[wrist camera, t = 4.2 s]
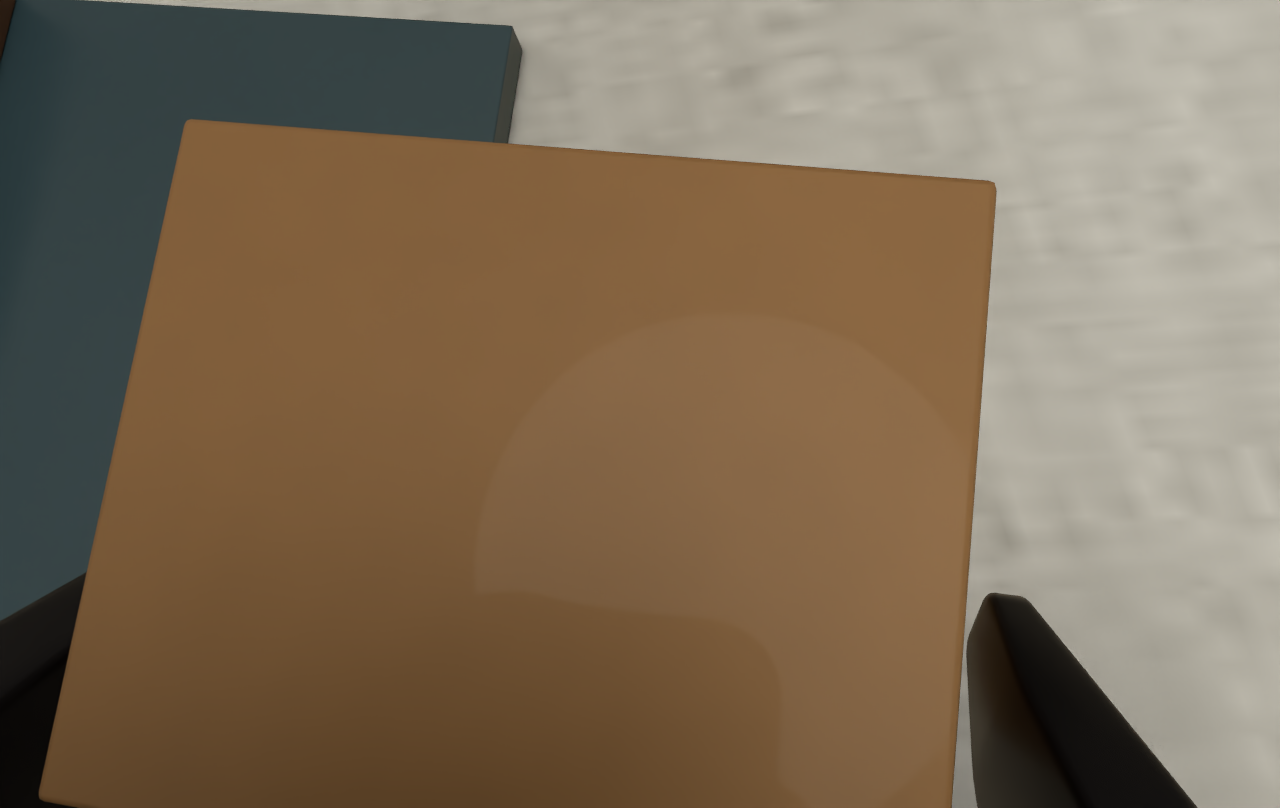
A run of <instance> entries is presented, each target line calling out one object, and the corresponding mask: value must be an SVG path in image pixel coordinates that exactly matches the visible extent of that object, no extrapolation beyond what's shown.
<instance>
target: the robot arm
mask: <svg viewBox="0 0 1280 808" xmlns="http://www.w3.org/2000/svg"><path fill="white" fill-rule="evenodd" d="M86 573H87V572H85V573H84V574H82V575H80V576H78V577H77V578H75V579H73V580H71V581H70V582H68V583H66V584H64V585H63V586H61V587H59V588H57V589H55V590H54V591H52V592H50V593H48V594H47V595H45V596H43V597H41V598H40V599H38V600H36V601H34V602H33V603H31V604H29V605H27V606H26V607H24V608H22V609H20V610H18V611H17V612H15V613H13V614H11V615H10V616H8V617H6V618H4V619H3V620H1V621H0V808H77V807H72V806H67V805H61V804H56V803H51V802H46V801H42V800H41V799H40V798H39V788H40V784H41V779H42V775H43V770H44V766H45V761H46V756H47V752H48V747H49V743H50V738H51V733H52V729H53V724H54V720H55V715H56V711H57V706H58V701H59V697H60V692H61V688H62V683H63V678H64V674H65V669H66V665H67V660H68V656H69V651H70V646H71V642H72V637H73V633H74V628H75V623H76V619H77V614H78V610H79V605H80V601H81V596H82V591H83V587H84V582H85V578H86ZM966 658H967V676H968V695H969V714H970V732H971V751H972V767H973V780H974V787H975V794H976V801H977V807H978V808H1197V806H1196V805H1195V804H1194V803H1193V801H1192V800H1191V799H1190V798H1189V797H1188V795H1187V794H1186V793H1185V792H1184V790H1183V789H1182V788H1181V787H1180V786H1179V784H1178V783H1177V782H1176V781H1175V779H1174V778H1173V777H1172V776H1171V775H1170V773H1169V772H1168V771H1167V770H1166V768H1165V767H1164V766H1163V765H1162V763H1161V762H1160V761H1159V760H1158V759H1157V757H1156V756H1155V755H1154V754H1153V752H1152V751H1151V750H1150V749H1149V748H1148V746H1147V745H1146V744H1145V743H1144V741H1143V740H1142V739H1141V738H1140V737H1139V735H1138V734H1137V733H1136V732H1135V730H1134V729H1133V728H1132V727H1131V725H1130V724H1129V723H1128V722H1127V721H1126V719H1125V718H1124V717H1123V716H1122V714H1121V713H1120V712H1119V711H1118V710H1117V708H1116V707H1115V706H1114V705H1113V703H1112V702H1111V701H1110V700H1109V699H1108V697H1107V696H1106V695H1105V694H1104V692H1103V691H1102V690H1101V689H1100V688H1099V686H1098V685H1097V684H1096V683H1095V681H1094V680H1093V679H1092V678H1091V676H1090V675H1089V674H1088V673H1087V672H1086V670H1085V669H1084V668H1083V667H1082V665H1081V664H1080V663H1079V662H1078V661H1077V659H1076V658H1075V657H1074V656H1073V654H1072V653H1071V652H1070V651H1069V650H1068V648H1067V647H1066V646H1065V645H1064V643H1063V642H1062V641H1061V640H1060V638H1059V637H1058V636H1057V635H1056V634H1055V632H1054V631H1053V630H1052V629H1051V627H1050V626H1049V625H1048V624H1047V623H1046V621H1045V620H1044V619H1043V618H1042V616H1041V615H1040V614H1039V613H1038V612H1037V610H1036V609H1035V608H1034V607H1033V605H1032V604H1031V603H1030V602H1029V601H1028V600H1026V599H1025V598H1023V597H1021V596H1015V595H1007V594H1000V593H990V594H988V595H987V596H986V597H985V598H984V600H983V602H982V605H981V607H980V609H979V612H978V614H977V617H976V619H975V622H974V624H973V627H972V629H971V631H970V634H969V637H968V641H967V651H966Z"/></svg>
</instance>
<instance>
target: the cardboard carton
mask: <svg viewBox="0 0 1280 808" xmlns="http://www.w3.org/2000/svg"><path fill="white" fill-rule="evenodd" d="M996 192H997V191H996V187H995V183H993V182H991V181H985V180H972V179H959V178H946V177H933V176H920V175H907V174H894V173H881V172H868V171H855V170H842V169H829V168H817V167H804V166H791V165H778V164H765V163H752V162H739V161H726V160H713V159H700V158H687V157H674V156H661V155H648V154H635V153H622V152H609V151H597V150H584V149H571V148H558V147H545V146H532V145H519V144H506V143H493V142H480V141H467V140H454V139H441V138H428V137H415V136H402V135H390V134H377V133H364V132H351V131H338V130H325V129H312V128H299V127H286V126H273V125H260V124H247V123H234V122H221V121H208V120H195V119H190V120H187V121H186V123H185V124H184V128H183V133H182V138H181V142H180V147H179V151H178V156H177V161H176V165H175V170H174V174H173V179H172V183H171V188H170V193H169V197H168V202H167V206H166V211H165V216H164V220H163V225H162V229H161V234H160V238H159V243H158V248H157V252H156V257H155V261H154V266H153V271H152V275H151V280H150V284H149V289H148V293H147V298H146V303H145V307H144V312H143V316H142V321H141V326H140V330H139V335H138V339H137V344H136V348H135V353H134V358H133V362H132V367H131V371H130V376H129V381H128V385H127V390H126V394H125V399H124V403H123V408H122V413H121V417H120V422H119V426H118V431H117V436H116V440H115V445H114V449H113V454H112V458H111V463H110V468H109V472H108V477H107V481H106V486H105V491H104V495H103V500H102V504H101V509H100V513H99V518H98V523H97V527H96V532H95V536H94V541H93V546H92V550H91V555H90V559H89V564H88V568H87V573H86V578H85V582H84V587H83V591H82V596H81V601H80V605H79V610H78V614H77V619H76V623H75V628H74V633H73V637H72V642H71V646H70V651H69V656H68V660H67V665H66V669H65V674H64V678H63V683H62V688H61V692H60V697H59V701H58V706H57V711H56V715H55V720H54V724H53V729H52V733H51V738H50V743H49V747H48V752H47V756H46V761H45V766H44V770H43V775H42V779H41V784H40V788H39V798H40V799H41V800H42V801H46V802H51V803H56V804H61V805H67V806H72V807H77V808H951V807H952V793H953V780H954V766H955V752H956V739H957V725H958V711H959V698H960V684H961V670H962V657H963V643H964V629H965V616H966V602H967V588H968V575H969V561H970V547H971V534H972V520H973V506H974V493H975V479H976V465H977V452H978V438H979V424H980V411H981V397H982V383H983V370H984V356H985V342H986V329H987V315H988V301H989V288H990V274H991V260H992V247H993V233H994V219H995V206H996Z"/></svg>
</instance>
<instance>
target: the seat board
mask: <svg viewBox="0 0 1280 808" xmlns="http://www.w3.org/2000/svg"><path fill="white" fill-rule="evenodd" d="M521 53H522V48H521V46H520V43H519V41H518V39H517V36H516V34H515V32H514V29H513V27H512V26H506V25H489V24H472V23H456V22H439V21H422V20H405V19H389V18H372V17H355V16H338V15H322V14H305V13H288V12H271V11H255V10H238V9H221V8H204V7H187V6H171V5H154V4H137V3H120V2H104V1H87V0H0V621H1V620H3V619H4V618H6V617H8V616H10V615H11V614H13V613H15V612H17V611H18V610H20V609H22V608H24V607H26V606H27V605H29V604H31V603H33V602H34V601H36V600H38V599H40V598H41V597H43V596H45V595H47V594H48V593H50V592H52V591H54V590H55V589H57V588H59V587H61V586H63V585H64V584H66V583H68V582H70V581H71V580H73V579H75V578H77V577H78V576H80V575H82V574H84V573H85V572H87V568H88V564H89V559H90V555H91V550H92V546H93V541H94V536H95V532H96V527H97V523H98V518H99V513H100V509H101V504H102V500H103V495H104V491H105V486H106V481H107V477H108V472H109V468H110V463H111V458H112V454H113V449H114V445H115V440H116V436H117V431H118V426H119V422H120V417H121V413H122V408H123V403H124V399H125V394H126V390H127V385H128V381H129V376H130V371H131V367H132V362H133V358H134V353H135V348H136V344H137V339H138V335H139V330H140V326H141V321H142V316H143V312H144V307H145V303H146V298H147V293H148V289H149V284H150V280H151V275H152V271H153V266H154V261H155V257H156V252H157V248H158V243H159V238H160V234H161V229H162V225H163V220H164V216H165V211H166V206H167V202H168V197H169V193H170V188H171V183H172V179H173V174H174V170H175V165H176V161H177V156H178V151H179V147H180V142H181V138H182V133H183V128H184V124H185V123H186V121H187V120H190V119H195V120H208V121H221V122H234V123H247V124H260V125H273V126H286V127H299V128H312V129H325V130H338V131H351V132H364V133H377V134H390V135H402V136H415V137H428V138H441V139H454V140H467V141H480V142H493V143H506V144H507V141H508V134H509V128H510V122H511V116H512V110H513V103H514V97H515V91H516V85H517V78H518V72H519V66H520V60H521Z"/></svg>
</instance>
